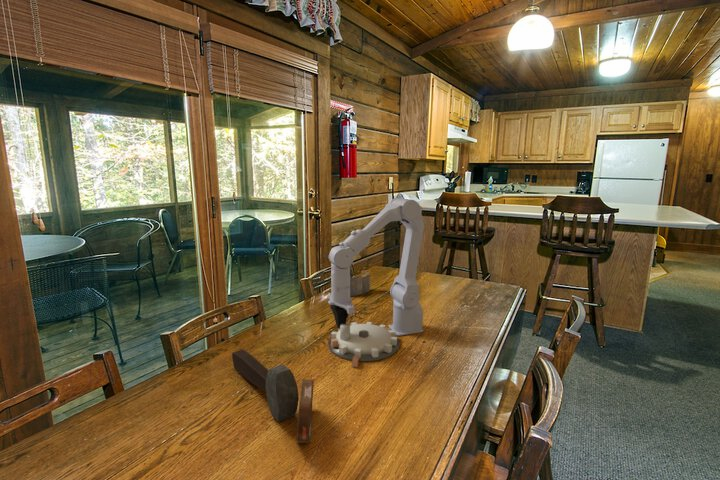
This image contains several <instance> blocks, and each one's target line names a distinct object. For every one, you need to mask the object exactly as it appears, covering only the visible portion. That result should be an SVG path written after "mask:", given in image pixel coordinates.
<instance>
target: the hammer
mask: <svg viewBox="0 0 720 480" xmlns="http://www.w3.org/2000/svg"><path fill="white" fill-rule="evenodd" d="M231 354H232V355H231V357H232V365H233V368H234V370H235V371H236V372H237V373H238V374H239V375H240V376H242V378H244V379H245V380H247V381H248V382H250V383H251V384H252V385H254V386H256V388H258V389H260V390H261V391H262V392H264V393H265V394H266V400H267V404H268V408H269V411H270V414H271V416H272V418H273V419H274V420H275V421H276V422H278V423H281V422H283V421H285V420H288V419H291V418H293V417H294V416H295V415H296V413H298V411H297V410H298V408H299V401H300V395H299V389H298V383H297V380H296V379H295V376H294V373H293V372H292V370H291V369H290V368H289V367H288V366H286V365H284V364H281V365H280V364H279V365H277V366H274V367H272V368H269V369H268V368H266V366H264V365H263V364H262V363H261V362H260V361H259V360H258V359H256V358H255V356H253V355H252V354H250V352H248V351H246V350H245V349H243V348H242V349H239V350H236V351H233V352H232V353H231Z"/></svg>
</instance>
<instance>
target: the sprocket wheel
mask: <svg viewBox="0 0 720 480" xmlns="http://www.w3.org/2000/svg"><path fill="white" fill-rule="evenodd" d="M372 323H373V322H372V321H366V323H357V321H356V322H355V321H354V322H351V323H350V324H349V323H346V324H342V325H340V329H339V328H337V329H338V330H337V331H332V332H331V334H330V337H331V346H332V348H334V347H339V353H340V354H342V355H343V354H345V353H350V354H355V356H358V357H361V355H371V356H372V357H373V358H375V357H378V353H381V352H387V353H390V352H392V345H393V346H396V345H397V338H398V337H397V336H396V334H395V331H394V330H391V329H389V330H388V329H387V328H386V327H387V325H385V324H380V325H377V324H372ZM395 336H396V337H395Z"/></svg>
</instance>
